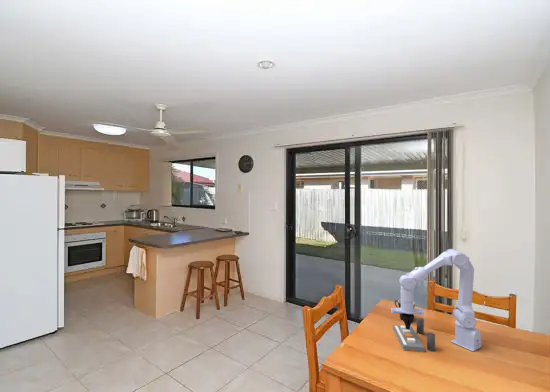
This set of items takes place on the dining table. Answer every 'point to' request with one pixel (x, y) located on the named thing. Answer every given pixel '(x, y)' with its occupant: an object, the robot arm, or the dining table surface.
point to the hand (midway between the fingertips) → (407, 328)
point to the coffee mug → (400, 307)
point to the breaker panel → (408, 338)
